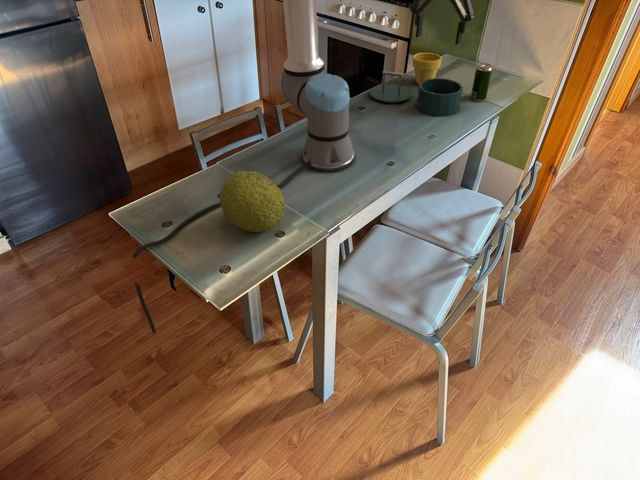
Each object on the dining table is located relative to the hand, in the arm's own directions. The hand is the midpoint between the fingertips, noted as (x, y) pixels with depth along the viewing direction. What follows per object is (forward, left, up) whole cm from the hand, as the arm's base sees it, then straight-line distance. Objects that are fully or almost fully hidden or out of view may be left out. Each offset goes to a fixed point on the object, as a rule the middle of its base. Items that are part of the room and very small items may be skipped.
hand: (437, 39), depth 150 cm
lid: (+2, +16, -22) cm, 27 cm away
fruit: (-84, +8, -23) cm, 88 cm away
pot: (+2, -3, -23) cm, 23 cm away
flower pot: (+20, +11, -23) cm, 32 cm away
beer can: (+16, -12, -23) cm, 30 cm away
